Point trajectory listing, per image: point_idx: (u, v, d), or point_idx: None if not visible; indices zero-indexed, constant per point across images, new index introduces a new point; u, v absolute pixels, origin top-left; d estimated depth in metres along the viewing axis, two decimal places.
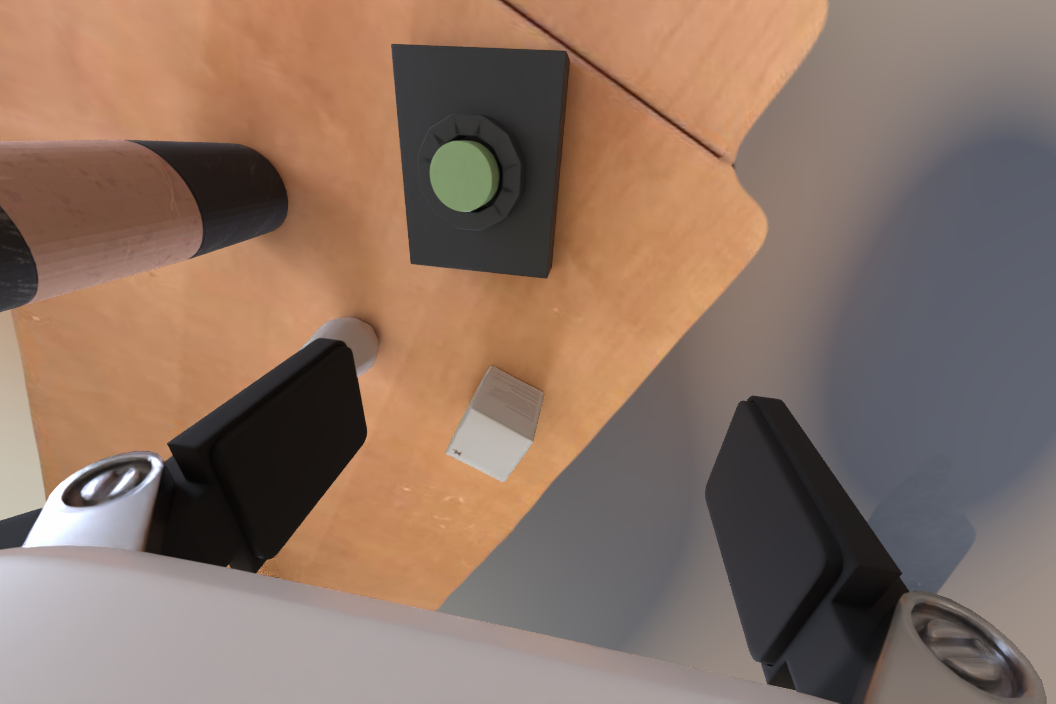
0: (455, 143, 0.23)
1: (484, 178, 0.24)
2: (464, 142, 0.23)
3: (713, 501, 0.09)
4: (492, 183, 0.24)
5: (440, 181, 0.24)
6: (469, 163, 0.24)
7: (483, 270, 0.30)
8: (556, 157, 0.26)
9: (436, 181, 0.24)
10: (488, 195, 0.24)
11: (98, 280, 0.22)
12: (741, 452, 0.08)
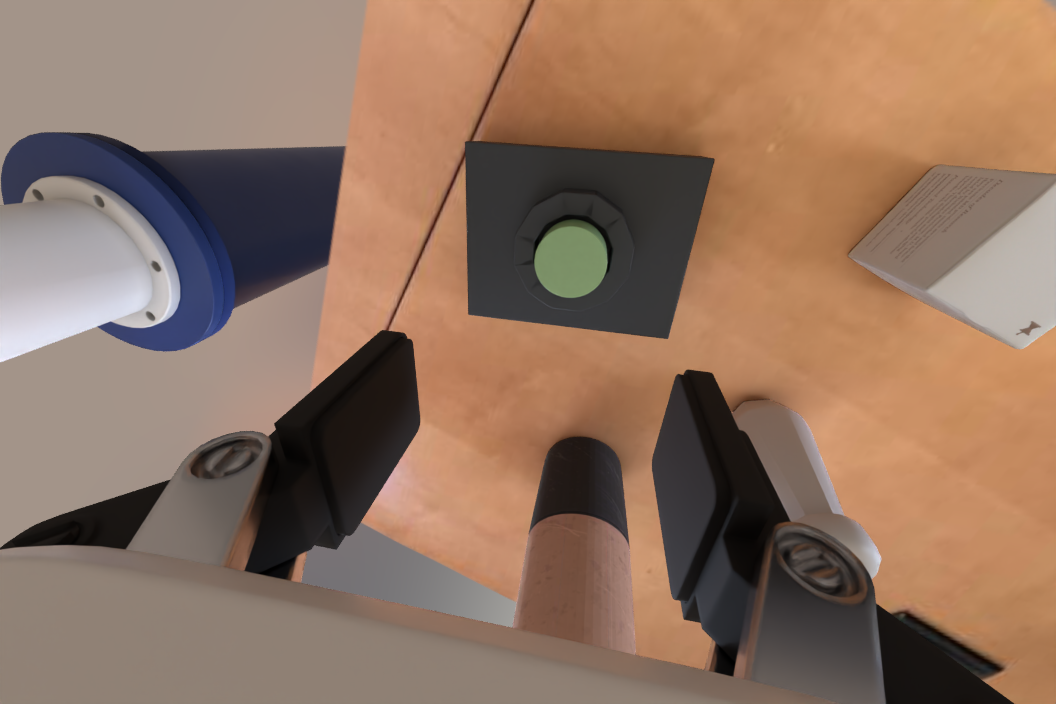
0: (536, 264, 0.22)
1: (572, 235, 0.21)
2: (536, 255, 0.22)
3: (656, 468, 0.10)
4: (578, 226, 0.21)
5: (573, 286, 0.22)
6: (555, 252, 0.21)
7: (689, 251, 0.24)
8: (561, 149, 0.22)
9: (573, 291, 0.22)
10: (591, 232, 0.21)
11: (628, 627, 0.23)
12: (675, 420, 0.09)
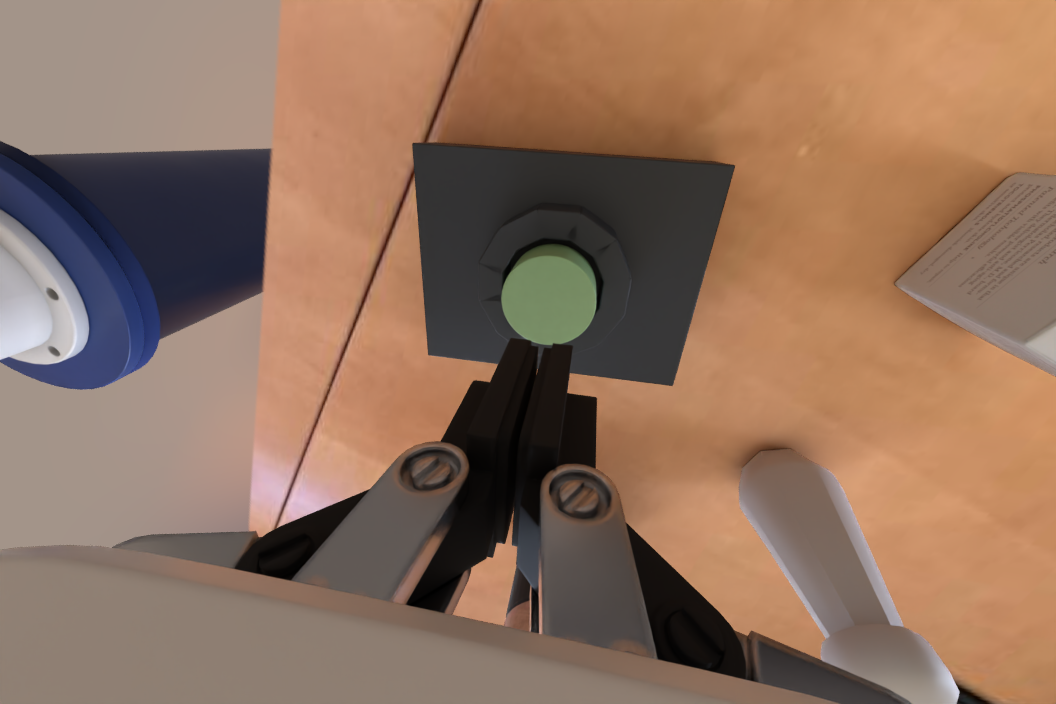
0: (504, 304, 0.17)
1: (549, 267, 0.16)
2: (503, 291, 0.17)
3: None
4: (557, 255, 0.16)
5: (552, 331, 0.17)
6: (528, 288, 0.16)
7: (700, 282, 0.19)
8: (536, 153, 0.17)
9: (552, 337, 0.17)
10: (574, 263, 0.16)
11: None
12: None
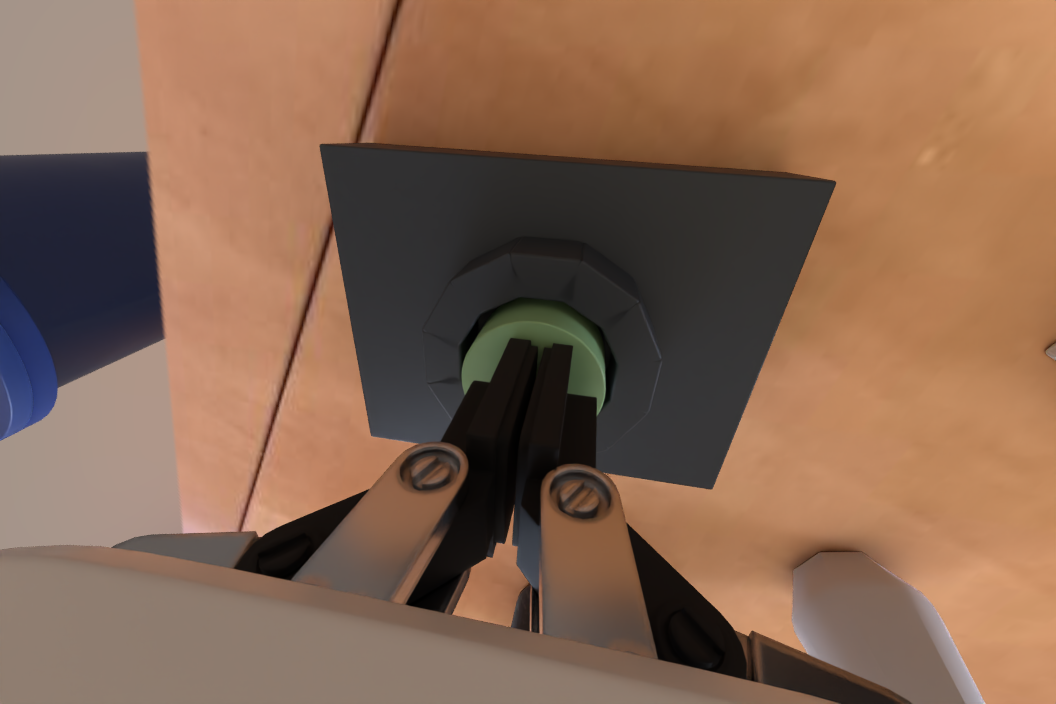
0: (466, 387, 0.11)
1: (533, 338, 0.10)
2: (463, 369, 0.11)
3: None
4: (544, 321, 0.10)
5: None
6: None
7: (764, 356, 0.12)
8: (511, 160, 0.11)
9: None
10: (571, 334, 0.10)
11: None
12: None
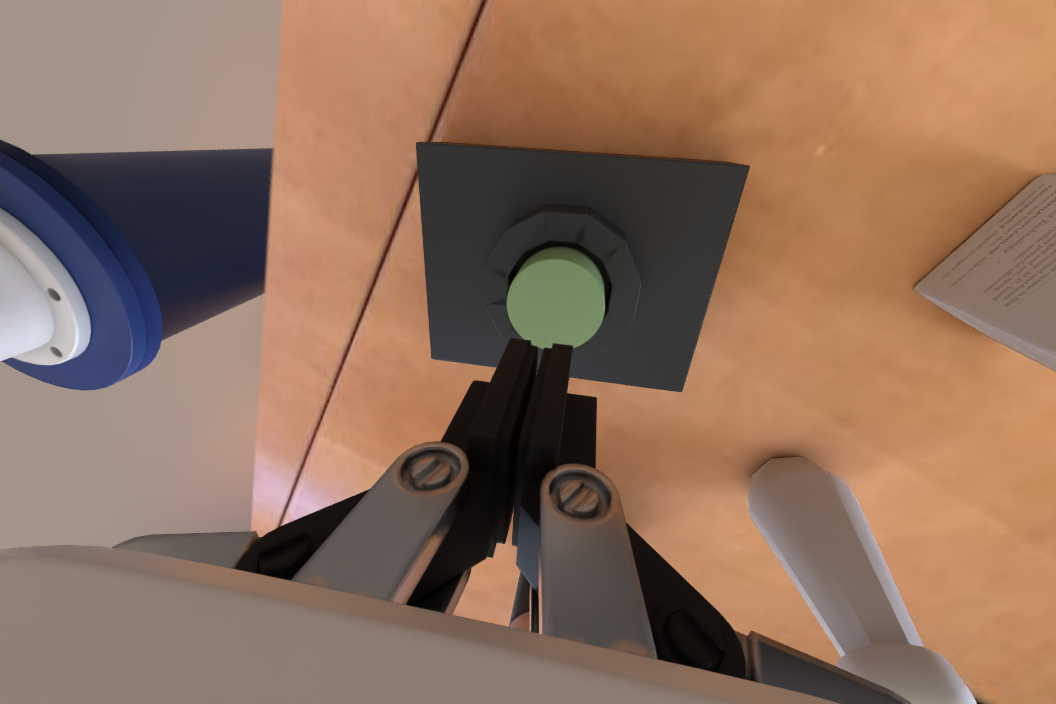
0: (510, 308, 0.16)
1: (557, 270, 0.15)
2: (508, 295, 0.16)
3: None
4: (564, 259, 0.15)
5: (559, 337, 0.16)
6: (534, 292, 0.16)
7: (712, 286, 0.18)
8: (543, 152, 0.17)
9: (559, 342, 0.17)
10: (582, 267, 0.15)
11: None
12: None
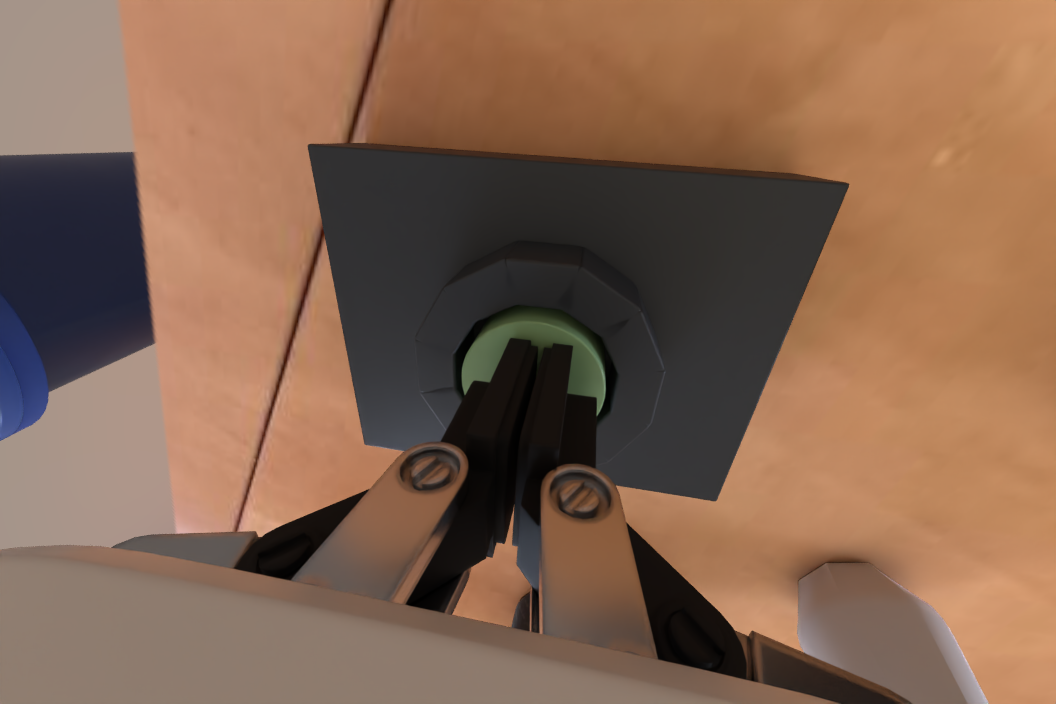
0: (466, 387, 0.11)
1: (533, 337, 0.10)
2: (463, 369, 0.11)
3: None
4: (544, 321, 0.10)
5: None
6: None
7: (771, 365, 0.12)
8: (507, 161, 0.10)
9: None
10: (571, 334, 0.10)
11: None
12: None
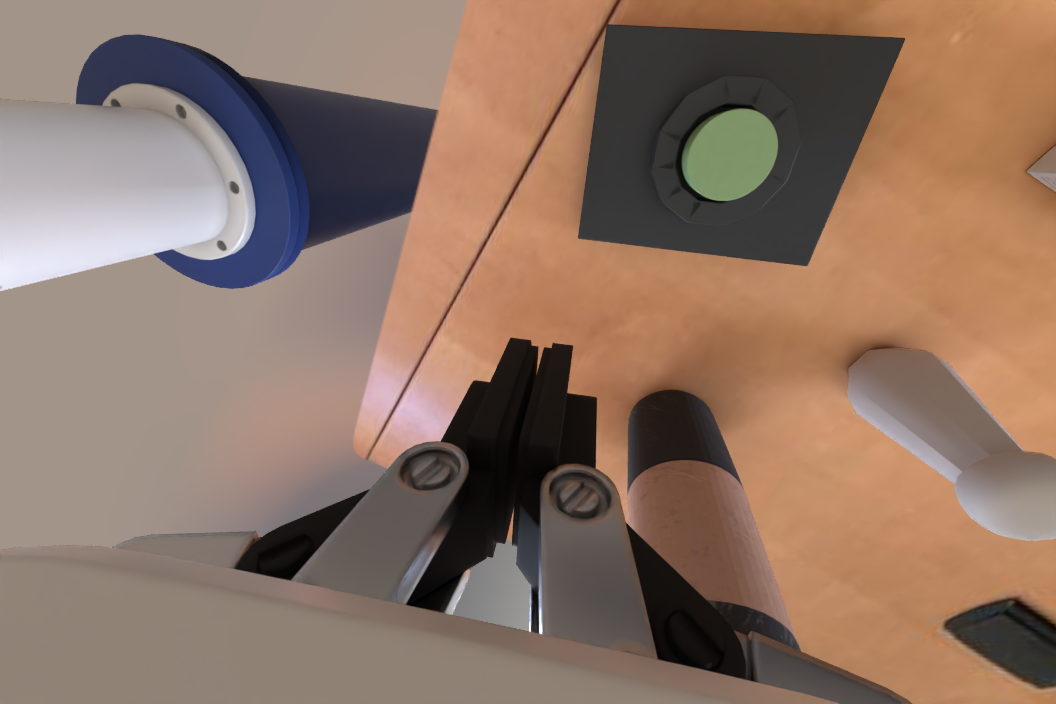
0: (690, 159, 0.19)
1: (741, 120, 0.18)
2: (691, 147, 0.19)
3: None
4: (749, 109, 0.18)
5: (729, 186, 0.19)
6: (716, 142, 0.19)
7: (852, 157, 0.21)
8: (720, 31, 0.20)
9: (728, 192, 0.20)
10: (763, 116, 0.18)
11: (774, 577, 0.20)
12: None
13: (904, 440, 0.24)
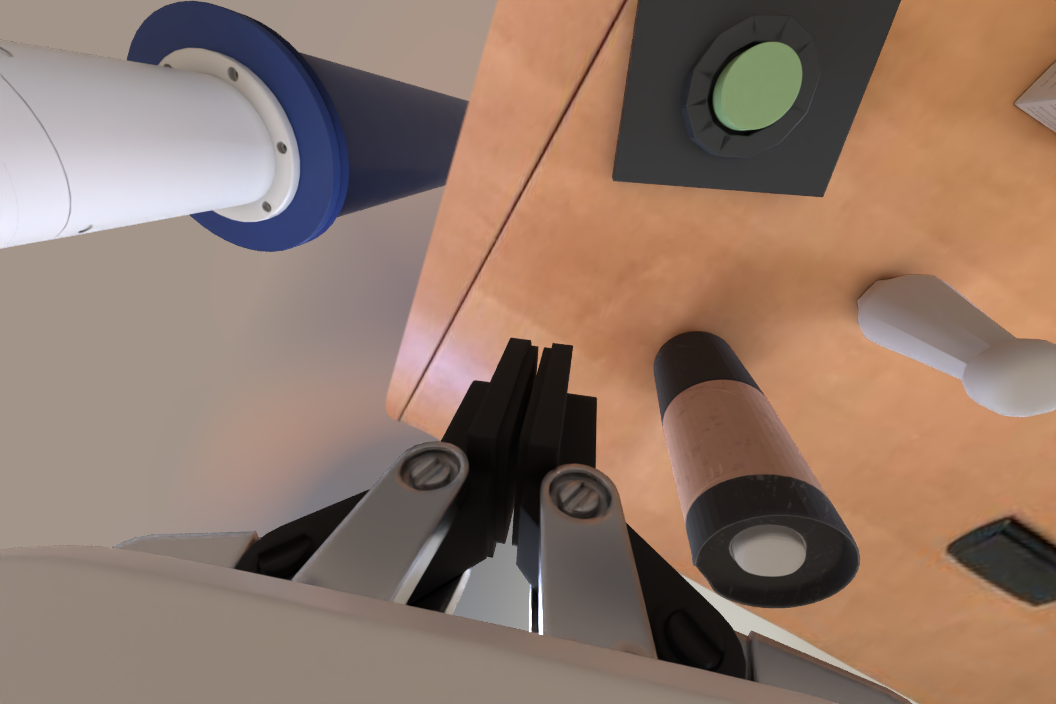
0: (724, 91, 0.22)
1: (769, 52, 0.21)
2: (725, 79, 0.21)
3: None
4: (777, 42, 0.20)
5: (758, 115, 0.22)
6: (747, 74, 0.21)
7: (863, 91, 0.23)
8: None
9: (757, 121, 0.22)
10: (790, 48, 0.20)
11: None
12: None
13: (913, 351, 0.26)
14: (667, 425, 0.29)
